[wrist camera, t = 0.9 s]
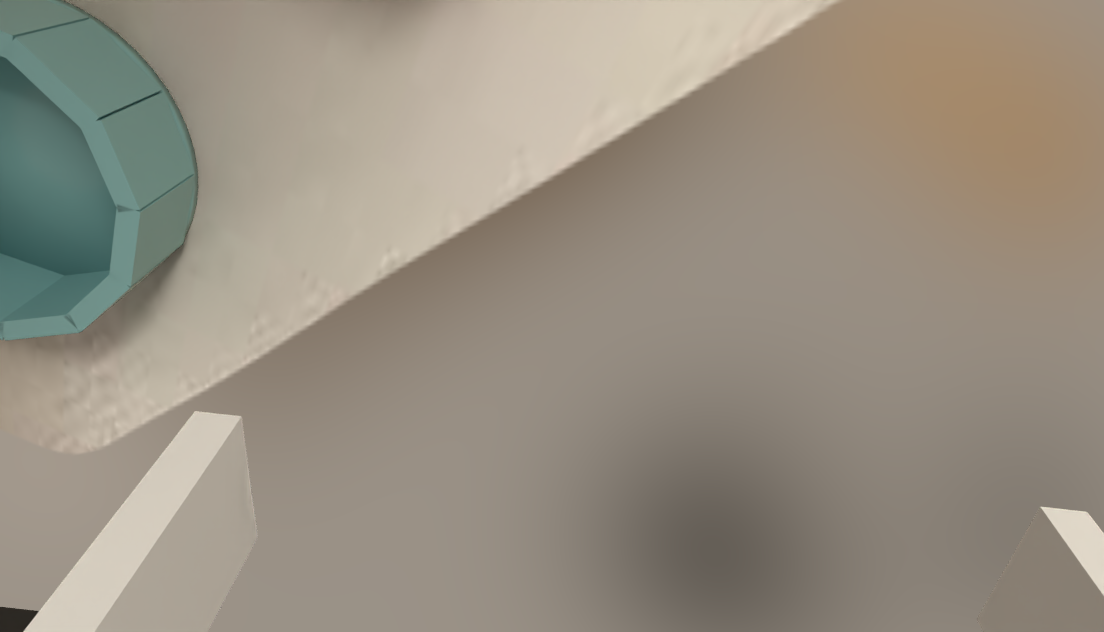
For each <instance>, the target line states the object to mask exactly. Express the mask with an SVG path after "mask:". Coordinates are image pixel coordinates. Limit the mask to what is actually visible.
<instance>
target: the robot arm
mask: <svg viewBox="0 0 1104 632" xmlns="http://www.w3.org/2000/svg"><path fill="white" fill-rule="evenodd" d="M257 538H258V534H257V527H256V520H255V511H254V504H253V497H252V489H251V482H250V474H249V467H248V460H247V453H246V445H245V437H244V430H243V422H242V417H241V416H234V415H225V414H215V413H207V412H198V411H195V412H194V413H193V415H192V416H191V417H190V418H189V420H188V421H187V422H186V424H185V425H184V426H183V427H182V429H181V430H180V431H179V433H178V434H177V435H176V437H175V438H174V439H173V440H172V442H171V443H170V444H169V445H168V447H167V448H166V449H165V451H164V452H163V453H162V454H161V456H160V457H159V458H158V460H157V461H156V462H155V463H154V465H153V466H152V467H151V469H150V470H149V471H148V472H147V474H146V475H145V476H144V477H143V479H142V480H141V481H140V483H139V484H138V485H137V486H136V488H135V489H134V490H133V492H132V493H131V494H130V496H129V497H128V498H127V499H126V501H125V502H124V503H123V505H122V506H121V507H120V508H119V510H118V511H117V512H116V513H115V515H114V516H113V517H112V519H111V520H110V521H109V522H108V524H107V525H106V526H105V528H104V529H103V530H102V531H101V533H100V534H99V535H98V536H97V538H96V539H95V540H94V542H93V543H92V544H91V545H90V547H89V548H88V549H87V551H86V552H85V553H84V554H83V556H82V557H81V558H80V560H79V561H78V562H77V563H76V565H75V566H74V567H73V568H72V570H71V571H70V572H69V574H68V575H67V576H66V578H65V579H64V580H63V581H62V583H61V584H60V585H59V586H58V588H57V589H56V591H55V592H54V593H53V594H52V595H51V597H50V598H49V599H48V601H47V602H46V603H45V605H44V606H43V607H42V608H41V610H40V611H33V610H24V609H15V608H6V607H0V632H208V631H209V629H210V627H211V625H212V623H213V621H214V619H215V618H216V616H217V614H218V612H219V610H220V608H221V606H222V604H223V602H224V601H225V599H226V597H227V595H228V593H229V591H230V589H231V587H232V586H233V583H234V582H235V580H236V578H237V576H238V574H239V572H240V570H241V569H242V567H243V565H244V563H245V561H246V559H247V557H248V555H249V554H250V551H251V550H252V548H253V546H254V544H255V542H256V540H257ZM977 620H978V622H979V624H980V626H981V628H982V630H983V632H1104V533H1103V532H1102V531H1101V530H1100V528H1099V527H1098V526H1097V524H1096V523H1095V522H1094V520H1093V519H1092V518H1091V517H1090V515H1089V514H1088V513H1087V512H1083V511H1074V510H1065V509H1056V508H1048V507H1040V508H1039V510H1038V512H1037V513H1036V515H1035V517H1034V519H1033V520H1032V522H1031V524H1030V526H1029V528H1028V529H1027V531H1026V533H1025V534H1024V536H1023V538H1022V540H1021V542H1020V543H1019V545H1018V547H1017V549H1016V550H1015V552H1014V554H1013V556H1012V558H1011V559H1010V561H1009V563H1008V565H1007V566H1006V568H1005V570H1004V572H1003V573H1002V575H1001V577H1000V579H999V580H998V582H997V584H996V586H995V588H994V589H993V591H992V593H991V595H990V596H989V598H988V600H987V602H986V603H985V605H984V607H983V609H982V610H981V612H980V614H979V616H978V618H977Z"/></svg>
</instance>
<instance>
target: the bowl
mask: <svg viewBox="0 0 1104 632" xmlns="http://www.w3.org/2000/svg"><path fill="white" fill-rule="evenodd" d="M197 195H198V172H197V163H196V158H195V153H194V148H193V145H192V141H191V138H190V135H189V132H188V129H187V127H186V124H185V122H184V120H183V118H182V115H181V113H180V111H179V109H178V107H177V105H176V103H175V102H174V100H173V98H172V97H171V95H170V93H169V91H168V90H167V88H166V87H165V85H164V84H163V83H162V81H161V80H160V79H159V77H158V76H157V74H156V73H155V72H154V70H153V69H152V68H151V67H150V66H149V65H148V64H147V62H146V61H145V60H144V59H143V58H142V57H141V56H140V55H139V53H138V52H137V51H136V50H135V49H133V48H132V47H131V46H130V45H129V44H128V43H127V42H126V41H125V40H124V39H123V38H122V37H120V36H119V35H118V34H117V33H115V32H114V31H113V30H111V29H110V28H109V27H107V26H106V25H105V24H103V23H102V22H101V21H100V20H98V19H96V18H95V17H93V16H91V15H90V14H88V13H86V12H85V11H83V10H81V9H80V8H78V7H76V6H74V5H72V4H70V3H67V2H65V1H63V0H0V339H1V340H4V339H5V340H15V339H24V338H34V337H43V336H53V335H62V334H72V333H80V332H82V331H83V330H84V329H85V328H87V327H88V326H89V325H90V324H91V323H92V322H94V321H95V320H96V319H97V318H98V317H100V316H101V315H102V314H103V313H104V312H106V311H107V310H108V309H109V308H110V307H111V306H113V305H114V304H115V303H116V302H117V301H119V300H120V299H121V298H122V297H123V296H125V295H126V294H127V293H128V292H129V291H131V290H132V289H133V288H134V287H135V286H136V285H138V284H139V283H140V282H141V281H142V280H143V279H144V278H145V277H147V276H148V275H149V274H150V273H151V272H152V271H153V270H154V269H156V268H157V267H158V266H159V265H160V264H161V263H162V262H164V261H165V260H166V259H167V258H168V257H169V256H170V255H171V254H172V253H173V252H175V251H176V250H177V249H178V248H179V247H180V246H181V245H182V243H184V238H185V236H186V234H187V232H188V229H189V227H190V225H191V222H192V220H193V216H194V212H195V208H196V204H197Z"/></svg>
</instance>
